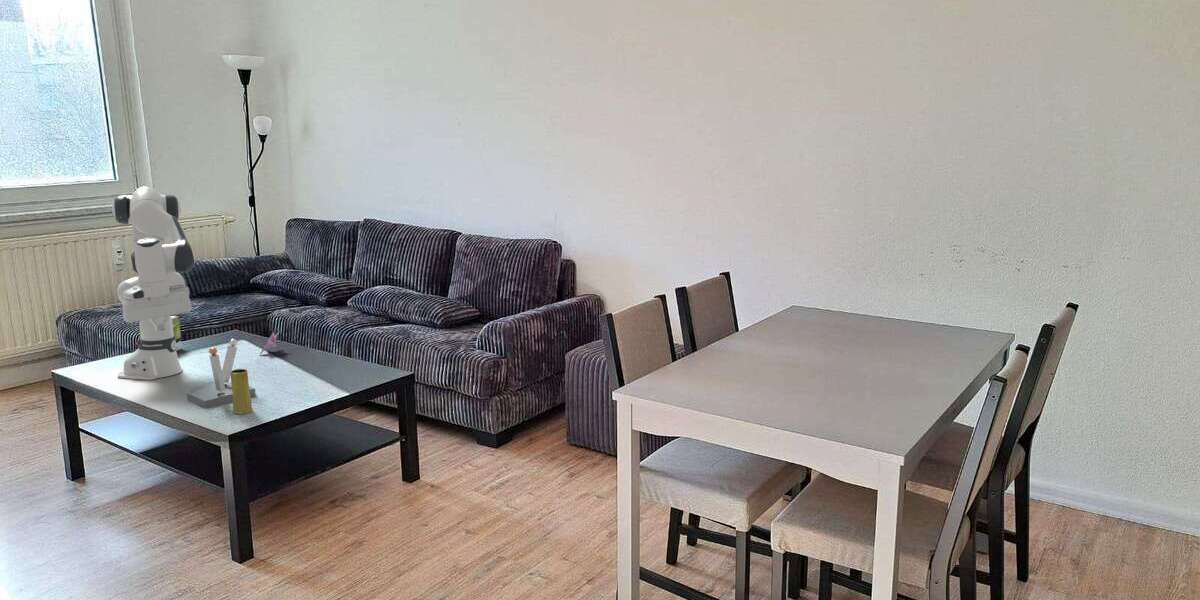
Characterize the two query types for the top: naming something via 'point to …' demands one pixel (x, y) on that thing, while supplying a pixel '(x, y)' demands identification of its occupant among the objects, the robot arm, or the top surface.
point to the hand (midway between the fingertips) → (160, 330)
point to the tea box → (175, 330)
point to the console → (214, 396)
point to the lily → (271, 342)
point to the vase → (240, 391)
